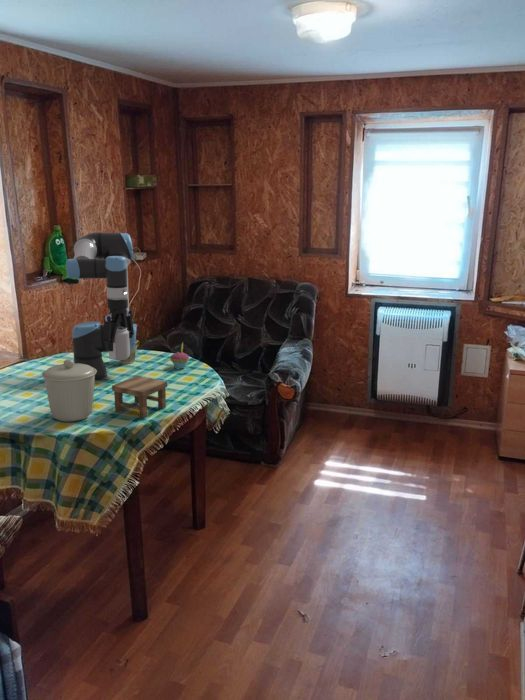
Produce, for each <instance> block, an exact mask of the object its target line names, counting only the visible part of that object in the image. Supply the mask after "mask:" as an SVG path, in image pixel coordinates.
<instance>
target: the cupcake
mask: <svg viewBox="0 0 525 700" xmlns="http://www.w3.org/2000/svg"><path fill="white" fill-rule="evenodd" d="M183 349H184V342H182V343H181V348H180V352H179V351H177V352H175V353H173V354H171V356H170V360H169V361H171V362H172V364H173V367H174V369H176V368H183V369H185V368H186V365H187V363H188V361H189V360H190V356H189V355H188V354H187V353H185V352H183ZM184 367H185V368H184Z"/></svg>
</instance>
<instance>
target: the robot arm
mask: <svg viewBox="0 0 525 700" xmlns="http://www.w3.org/2000/svg"><path fill="white" fill-rule="evenodd" d="M133 249H134V247H133V242H132V238H131V236H130V234H129V233H126V232H125V233H124V232H91V233H87V234H85V235H83V236H81V237H80V238H78V239H77V240H76V241H75V243H74V245H73V253H74V256H73V258H68V259H66V261H65V262H66V263H65V271H66V276H67V278H68V279H75V280H80V279H82V280H83V279H84V280H86V279H91V280H92V279H106V297H107V299H106V300H107V301H106V302H107V303H106V304H107V309H108V315H103V324H101V321H98V320H97V321H94V320H91V321H85V322H81V323H77V324H76V325H74V326H73V327H72V335H71V338H72V346H73V347H72V348H73V361H74V363H80V364H86V365H89V366H91V367H93V368H95V369H96V370H97V372H96V374H95V380H94V381H97V380H101V379H104V378H106V377H107V376H108V371H107V367H106V366H105V362H104V360H103V353H108V359H109V360H112V361H113V360H114V361H117V360H116V346H115V343H114V338H115V334H116V329H117V327H126V328H127V330H128V331H129V349H130V351H132V350H133V349H134V348H135V340H137V328H138V325H137V324H136V323H134V320H133V317H132V316H133V311H132V310H130V301H129V300H130V295H129V273H128V267H129V265H130V264H131V263H132V262H131V261H132V260H134V256H135V255H134V250H133ZM122 330H123V329H122Z"/></svg>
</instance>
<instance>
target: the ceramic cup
mask: <svg viewBox="0 0 525 700" xmlns="http://www.w3.org/2000/svg"><path fill="white" fill-rule="evenodd" d="M139 346H140V341H139V339H138V340H137V339H136V340H135V348H134V349H133V350H132V351H130V356H129V357H128V358H127V359H125V360H119V363H120V364H123V365H130V363H131V364H134V363H135V361H136V352H137V348H138V347H139ZM133 362H134V363H133Z"/></svg>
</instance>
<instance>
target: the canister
mask: <svg viewBox="0 0 525 700" xmlns="http://www.w3.org/2000/svg"><path fill="white" fill-rule="evenodd" d="M96 372H97V370H96V369H95V368H93V367H91V366H89V365H86V364H80V363H74V359H72V358H67V359H65V360H64V361H63V363H61V364H56V365H52V366H50V367H48V368H47V369H46V370H44V371H42V373H41V377H42V378H43V379H44V385H45V390H46V395H47V401H48V404H49V409H50V413H51V415H52V417H53V418H54V419H55V420H57V421H58V422H59V421H60V422H64V423H65V422H66V423H67V422H68V423H69V422H79V421H82V420H84V419H87V418H88V417H90V415H91V414H92V411H93V405H94V393H95V392H94V391H95V381H96V380H95V374H96Z"/></svg>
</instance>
